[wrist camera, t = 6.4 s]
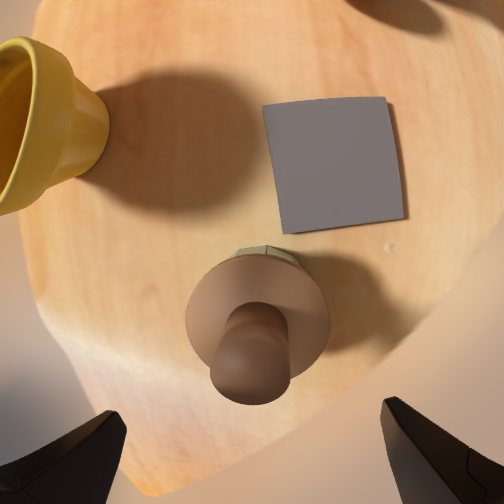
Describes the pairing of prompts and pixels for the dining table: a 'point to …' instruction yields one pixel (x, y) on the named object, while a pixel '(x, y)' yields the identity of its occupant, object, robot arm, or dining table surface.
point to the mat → (333, 162)
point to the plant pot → (44, 122)
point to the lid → (257, 325)
